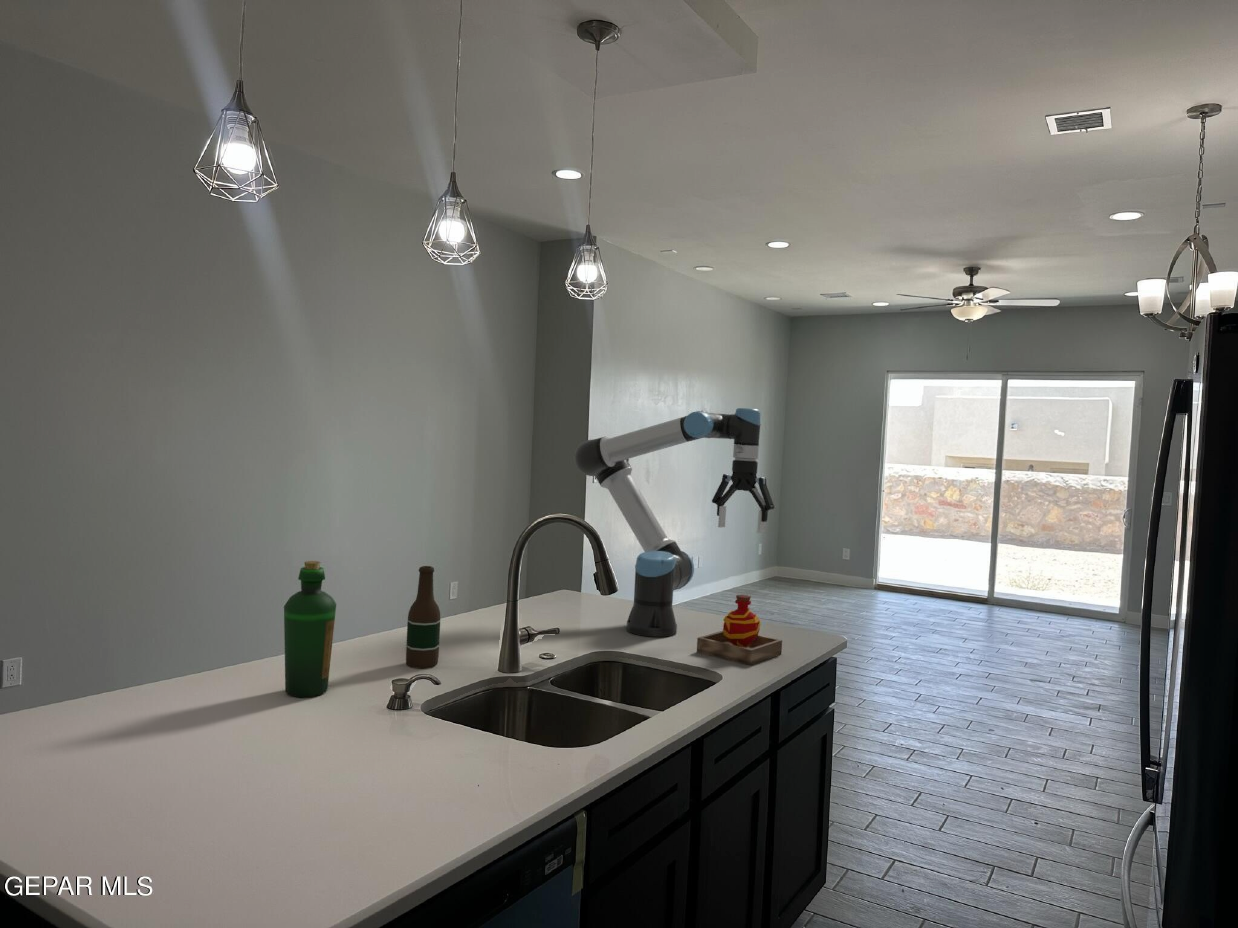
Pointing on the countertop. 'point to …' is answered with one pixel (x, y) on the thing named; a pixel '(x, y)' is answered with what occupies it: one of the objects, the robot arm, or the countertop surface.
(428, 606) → the beer bottle
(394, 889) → the countertop surface
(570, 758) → the countertop surface
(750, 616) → the potion bottle
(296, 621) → the bottle
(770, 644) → the walnut tray
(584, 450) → the robot arm
